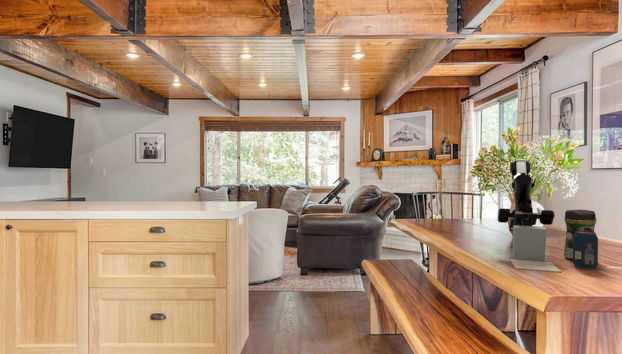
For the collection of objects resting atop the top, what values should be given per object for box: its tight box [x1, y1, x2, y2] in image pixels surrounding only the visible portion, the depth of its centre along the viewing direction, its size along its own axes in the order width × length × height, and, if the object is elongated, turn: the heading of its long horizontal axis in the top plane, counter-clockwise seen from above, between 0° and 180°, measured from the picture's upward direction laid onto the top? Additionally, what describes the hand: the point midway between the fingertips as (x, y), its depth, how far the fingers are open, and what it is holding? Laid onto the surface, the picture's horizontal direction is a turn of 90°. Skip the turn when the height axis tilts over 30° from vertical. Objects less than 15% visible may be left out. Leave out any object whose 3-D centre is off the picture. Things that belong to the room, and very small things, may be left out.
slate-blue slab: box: [511, 225, 547, 262], centre depth 145 cm, size 4×10×12 cm, turn 71°
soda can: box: [572, 231, 599, 271], centre depth 134 cm, size 7×7×12 cm
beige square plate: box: [509, 258, 562, 273], centre depth 135 cm, size 14×13×1 cm
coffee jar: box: [563, 209, 597, 261], centre depth 148 cm, size 10×8×19 cm
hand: (527, 233), depth 147 cm, fingers closed
